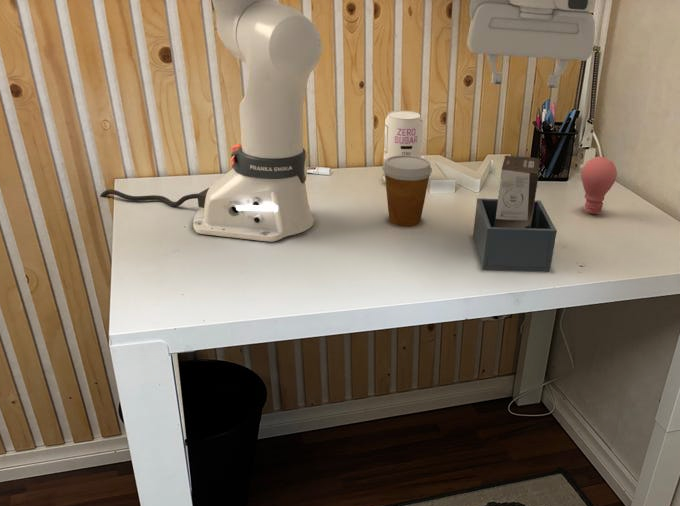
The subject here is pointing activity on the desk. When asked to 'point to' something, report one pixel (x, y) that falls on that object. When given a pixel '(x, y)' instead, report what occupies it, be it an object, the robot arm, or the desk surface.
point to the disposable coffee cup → (406, 188)
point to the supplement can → (402, 134)
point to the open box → (513, 240)
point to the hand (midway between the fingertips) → (524, 85)
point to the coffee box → (517, 192)
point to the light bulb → (597, 182)
